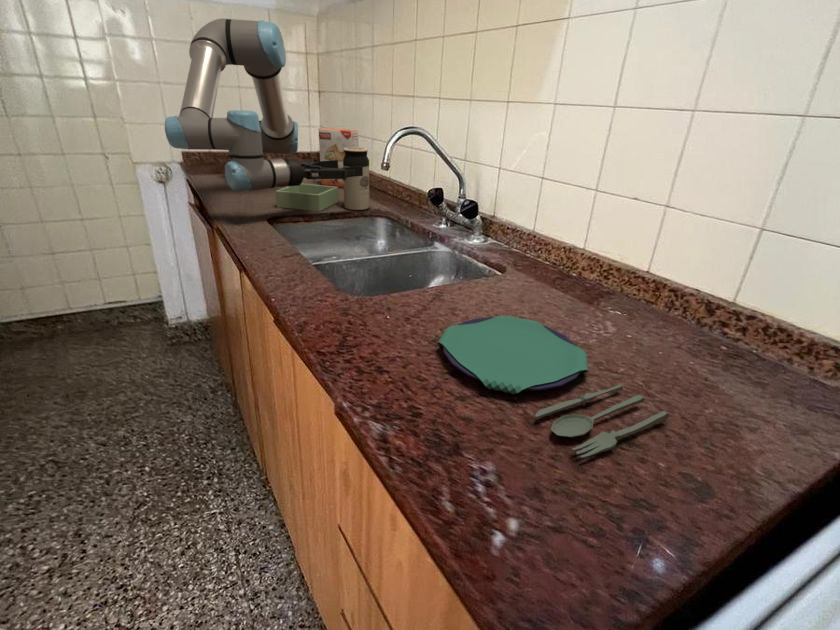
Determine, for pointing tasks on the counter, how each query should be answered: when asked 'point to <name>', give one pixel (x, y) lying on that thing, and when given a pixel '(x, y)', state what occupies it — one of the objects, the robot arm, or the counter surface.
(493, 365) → the cutlery set
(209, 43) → the robot arm
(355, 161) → the travel mug
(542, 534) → the counter surface
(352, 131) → the cracker box
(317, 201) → the crate
